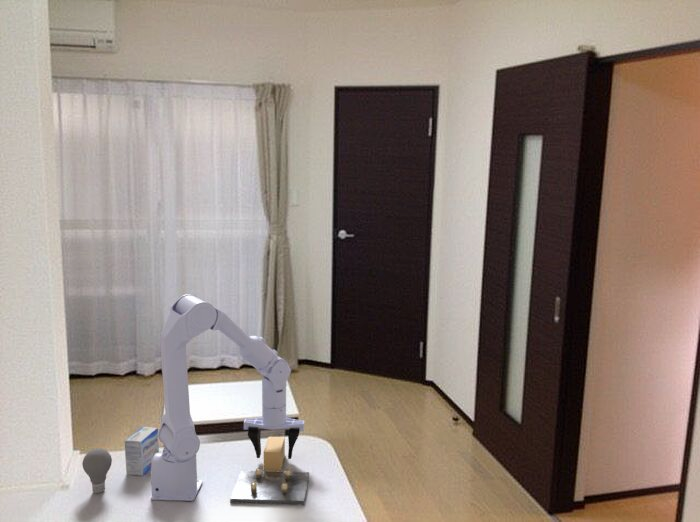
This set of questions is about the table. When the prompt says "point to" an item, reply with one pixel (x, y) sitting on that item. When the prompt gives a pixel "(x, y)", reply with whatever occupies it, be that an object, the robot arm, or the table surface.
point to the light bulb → (97, 467)
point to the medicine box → (141, 450)
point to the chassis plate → (270, 487)
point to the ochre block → (274, 453)
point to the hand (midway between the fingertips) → (274, 456)
